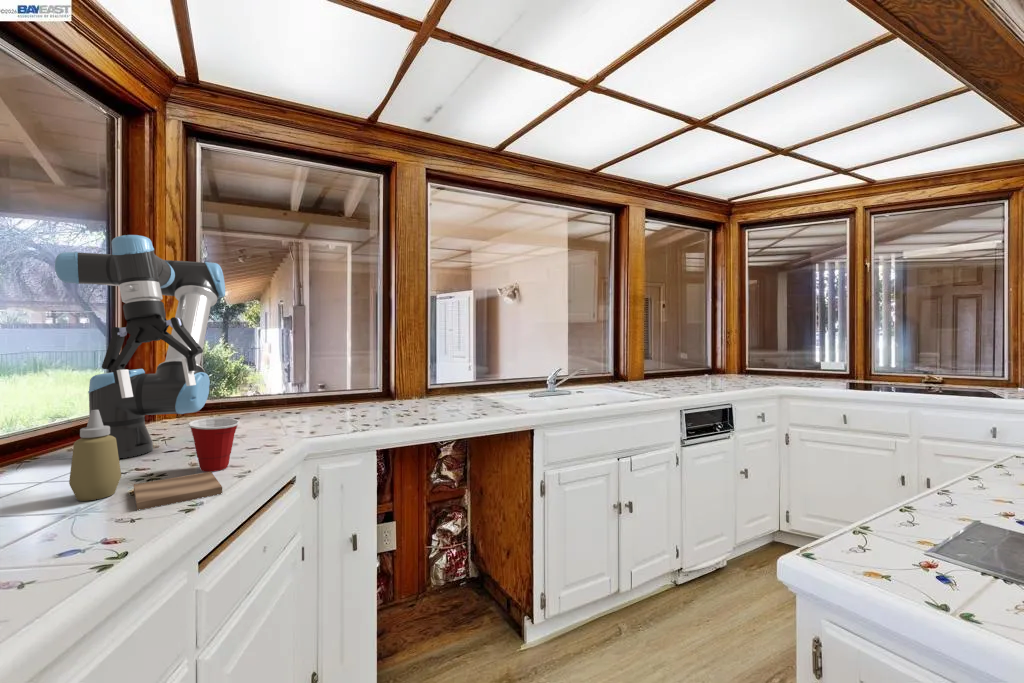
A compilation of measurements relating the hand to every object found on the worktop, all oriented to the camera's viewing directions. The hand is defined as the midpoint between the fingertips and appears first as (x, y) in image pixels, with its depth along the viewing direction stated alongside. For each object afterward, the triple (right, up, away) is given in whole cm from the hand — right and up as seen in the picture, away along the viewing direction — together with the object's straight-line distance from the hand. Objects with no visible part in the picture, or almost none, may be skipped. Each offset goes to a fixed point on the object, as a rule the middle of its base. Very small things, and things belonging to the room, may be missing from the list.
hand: (159, 391), depth 107 cm
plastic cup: (+8, -20, +8) cm, 23 cm away
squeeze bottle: (-4, -21, -12) cm, 24 cm away
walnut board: (+11, -20, -9) cm, 25 cm away
